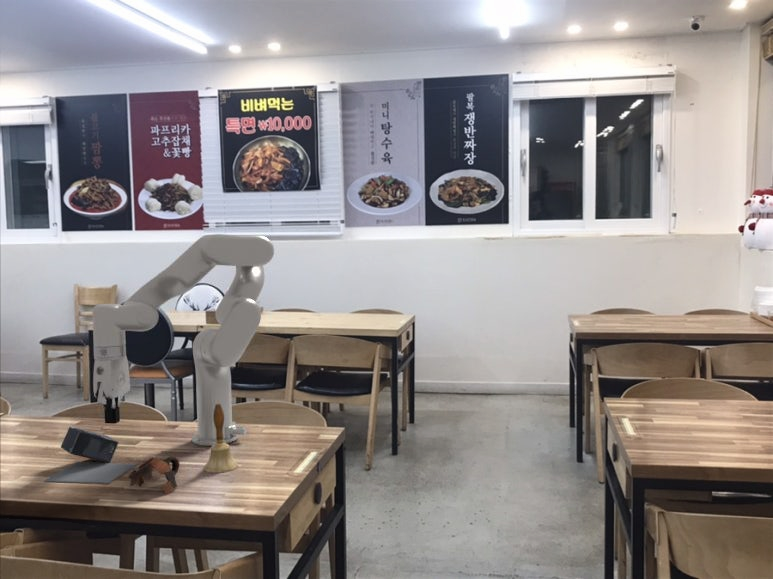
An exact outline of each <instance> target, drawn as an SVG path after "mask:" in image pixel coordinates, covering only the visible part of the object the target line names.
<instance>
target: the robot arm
mask: <svg viewBox="0 0 773 579" xmlns="http://www.w3.org/2000/svg"><path fill="white" fill-rule="evenodd" d="M274 254H275V248H274V244H273V242H272V241H271V240H270V239H269V238H267V237H266V236H263V235H249V234H248V235H245V234H242V235H241V234H240V235H237V234H236V235H235V234H223V233H221V234H220V233H218V234H217V233H216V234H214V233H213V234H206V235H203V236H200V237H199V238H198V239H197V240H196V241H195V242H194V243H193V244H192V245H191V246H189V247H188V248H187V249H186V250H185V251H184V252H183V253H182V254H181V255H179V257H177V258H176V259H175V260H174V261H172V263H171V264H169V265H168V267H166V268H164V270H162V271H161V272H159V273H158V274H156V275H155V276H154V277H153V278H151V279H150V280H149V281H147V282H146V283H145V284H143V285H142V286H141V287H139V289H137V291H135V292H134V293H133V294H132V295H131V296H130V297H129V298H128V299H127V300H126V301H124V302H123V304H120V303H101V304H97V305H94V307H93V308H92V334H93V338H92V339H93V341H92V342H93V359H94V364H93V382H92V383H93V384H92V385H93V394H94V395H93V396H94V397H95V399H97V404H98V405H102V408H103V410H104V412H103V413H104V423H105V424H110V425H111V424H112V425H113V424H114V425H115V424H117V423H120V422H121V420H120V419H121V416H120V415H121V414H120V406H121V400H122V398H123V397H124V396H125V394H127V393H129V391H130V390H131V378H130V366H129V362H128V357H127V347H126V343H127V342H126V331H127V332H128V331H131V332H146V331H147V332H148V331H149V330H152V329H153V328H155V326H156V325H157V324H158V322H159V317H160V316H159V312H158V309H159V308H160V307H162V305H164V304H166V303H167V302H168V301H170V300H172V299H174V298H176V297H179V296H182V295H183V294H186V293H188V292H189V291H191V290H192V289H193V288H194V287H195V286H196V285H197V284H198V283H199V282H200V281H201V280H202V279H204V278H205V277H206V276H207V275H208V274H209V273H210V272H211V271H212V270H213V269H214V268H215V267H216V266H228V267H230V266H232V267H234V266H235V275H234V277H233V280H232V282H231V284H230V286H229V287H228V288H227V290H226V292H225V294H224V295H223V297H222V299H221V300H220V302H219V304H218V306H217V307H216V311H215V320H216V322H217V323H218V324H219V325H220V327H219V329H218V328H207V329H203V330H202V331H200V332H199V333H197V335H196V336H195V338H194V340H193V343H192V355H193V361H194V362H193V363H194V366H195V367H194V368H195V381H196V382H195V384H196V386H195V387H196V389H195V390H196V414H197V416H196V417H197V418H196V420H197V421H196V422H197V423H196V424H197V426H196V427H197V432H196V433H195V434H193V436H192V437H191V442H192V443H193V444H195V445H199V446H206V447H207V446H209V447H210V446H211V447H212V446H213V445H215V444H216V443H217V440H216V438H217V437H216V427H215V424H214V419H213V414H214V410H215V405H216V404H221V407H222V409H223V412H224V424H223V440H224V443H226V444H230V443H233V442H235V441H237V440H238V438H239V436H245V435H246V434H247V428H246V427H245V426H238V425H236V421H233V416H232V415H233V412H232V408H233V407H232V374H231V366H234V365H235V364H236V363H237V362H238V361H239V360H240V359H241V357H242V356H243V355H244V353H245V351H246V349H247V348H248V346H249V344H250V343H251V340H252V339H253V337H254V335H255V333H256V332H257V330H258V327H260V326H259V325H260V324H261V320H262V312H261V308H260V305H259V304H258V303H257V300H258V298H259V295H260V294H261V292H262V290H263V287H264V283H265V269H264V266H265V265H267V264H269V263H270V262H271V260H272V259H273V258H274ZM232 441H233V442H232Z"/></svg>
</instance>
